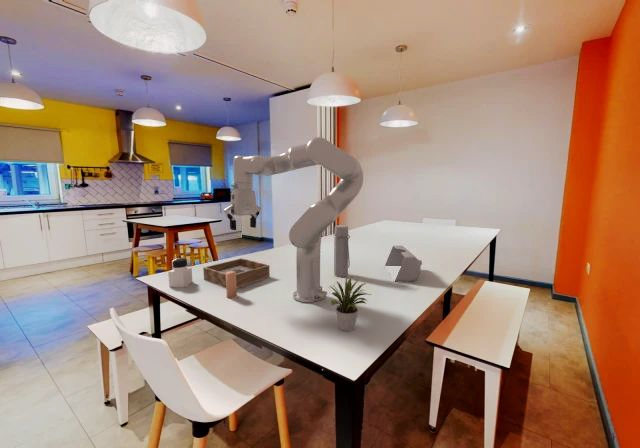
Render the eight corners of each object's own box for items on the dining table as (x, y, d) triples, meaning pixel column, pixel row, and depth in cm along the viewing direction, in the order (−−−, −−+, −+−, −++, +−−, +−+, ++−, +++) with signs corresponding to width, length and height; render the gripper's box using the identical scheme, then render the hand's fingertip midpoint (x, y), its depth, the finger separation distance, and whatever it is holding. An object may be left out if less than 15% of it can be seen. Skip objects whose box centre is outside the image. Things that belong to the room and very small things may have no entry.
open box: (269, 277, 140) (269, 265, 139) (231, 290, 122) (230, 276, 122) (241, 268, 153) (241, 258, 152) (204, 279, 136) (203, 267, 135)
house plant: (341, 346, 80) (342, 291, 77) (313, 326, 91) (313, 277, 89) (376, 331, 88) (378, 281, 86) (347, 315, 99) (347, 269, 97)
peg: (238, 295, 116) (237, 272, 115) (230, 299, 113) (229, 274, 112) (233, 293, 118) (232, 270, 117) (224, 296, 115) (223, 272, 114)
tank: (429, 282, 132) (430, 256, 130) (394, 282, 133) (395, 256, 131) (413, 267, 157) (414, 245, 155) (384, 267, 157) (384, 245, 156)
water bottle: (330, 275, 143) (330, 226, 139) (341, 271, 148) (341, 224, 145) (343, 279, 136) (344, 228, 133) (354, 276, 141) (355, 226, 138)
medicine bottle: (192, 282, 132) (191, 257, 131) (184, 287, 125) (182, 261, 124) (178, 281, 133) (176, 256, 131) (168, 287, 126) (166, 260, 124)
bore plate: (257, 275, 139) (257, 270, 138) (233, 283, 128) (233, 277, 128) (240, 270, 147) (240, 265, 147) (216, 277, 136) (215, 272, 136)
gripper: (229, 187, 106) (230, 232, 109) (265, 187, 120) (265, 227, 122) (218, 186, 111) (219, 229, 114) (254, 187, 124) (254, 225, 127)
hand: (243, 228), depth 118 cm, fingers open, 9 cm apart
